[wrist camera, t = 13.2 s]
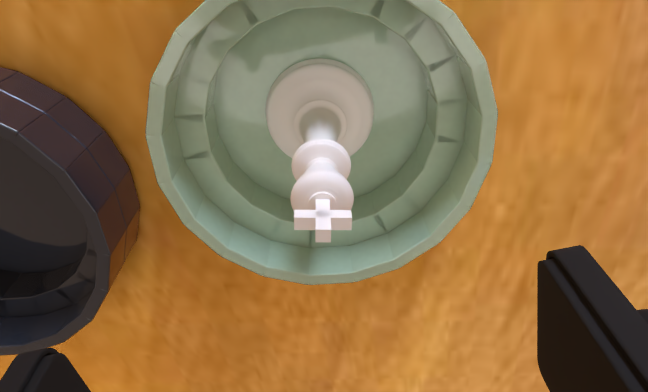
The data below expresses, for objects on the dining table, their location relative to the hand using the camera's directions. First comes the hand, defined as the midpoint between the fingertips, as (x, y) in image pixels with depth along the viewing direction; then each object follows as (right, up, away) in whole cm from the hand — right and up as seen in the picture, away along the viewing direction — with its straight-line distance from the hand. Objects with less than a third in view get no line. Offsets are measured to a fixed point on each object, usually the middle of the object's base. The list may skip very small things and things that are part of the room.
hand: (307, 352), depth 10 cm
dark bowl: (-16, +3, +15) cm, 22 cm away
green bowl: (0, +7, +13) cm, 15 cm away
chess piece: (0, +7, +13) cm, 15 cm away
